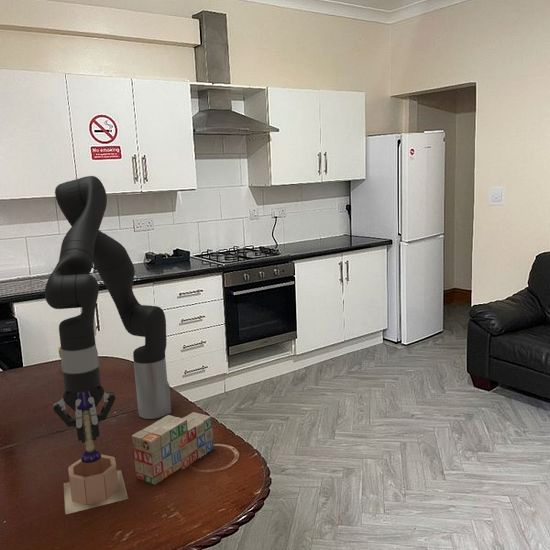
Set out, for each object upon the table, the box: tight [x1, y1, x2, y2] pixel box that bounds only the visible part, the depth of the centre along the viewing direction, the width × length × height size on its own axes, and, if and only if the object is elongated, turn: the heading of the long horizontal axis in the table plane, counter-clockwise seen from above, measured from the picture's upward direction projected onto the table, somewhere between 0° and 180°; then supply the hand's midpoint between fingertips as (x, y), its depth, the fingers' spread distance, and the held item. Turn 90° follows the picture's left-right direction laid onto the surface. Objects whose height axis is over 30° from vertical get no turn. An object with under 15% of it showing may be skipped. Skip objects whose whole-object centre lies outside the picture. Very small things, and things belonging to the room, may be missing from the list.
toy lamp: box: [75, 391, 101, 463], centre depth 122 cm, size 5×5×17 cm
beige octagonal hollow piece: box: [67, 453, 119, 505], centre depth 124 cm, size 10×10×6 cm
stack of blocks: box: [131, 411, 215, 486], centre depth 135 cm, size 21×6×12 cm, turn 147°
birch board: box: [63, 469, 129, 515], centre depth 125 cm, size 13×13×1 cm
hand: (88, 439), depth 122 cm, fingers closed on toy lamp
